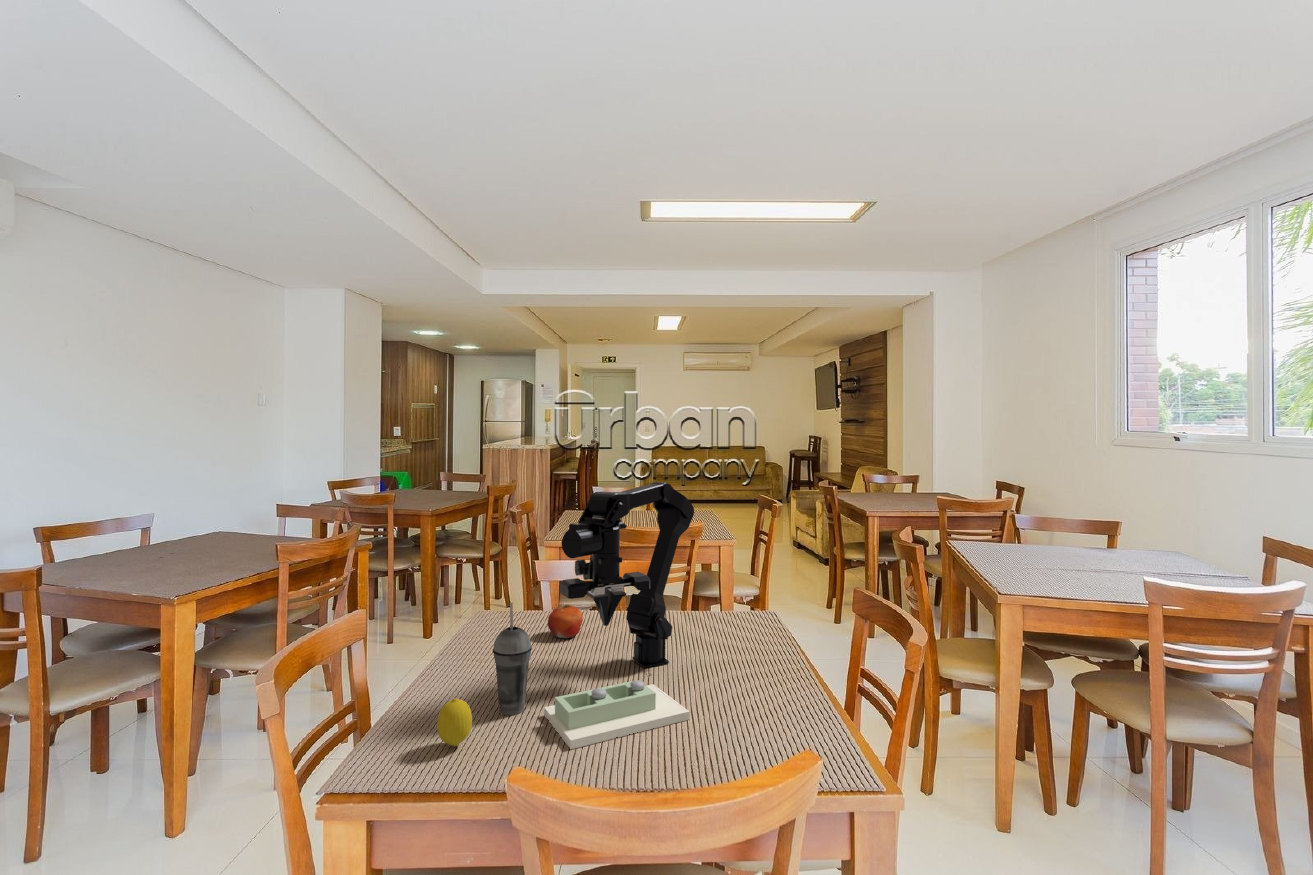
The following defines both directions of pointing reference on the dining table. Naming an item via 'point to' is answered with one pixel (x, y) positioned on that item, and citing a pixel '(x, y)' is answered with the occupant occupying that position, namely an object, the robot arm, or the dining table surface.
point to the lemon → (454, 722)
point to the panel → (603, 705)
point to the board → (621, 719)
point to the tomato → (565, 621)
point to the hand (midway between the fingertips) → (605, 625)
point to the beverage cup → (512, 667)
